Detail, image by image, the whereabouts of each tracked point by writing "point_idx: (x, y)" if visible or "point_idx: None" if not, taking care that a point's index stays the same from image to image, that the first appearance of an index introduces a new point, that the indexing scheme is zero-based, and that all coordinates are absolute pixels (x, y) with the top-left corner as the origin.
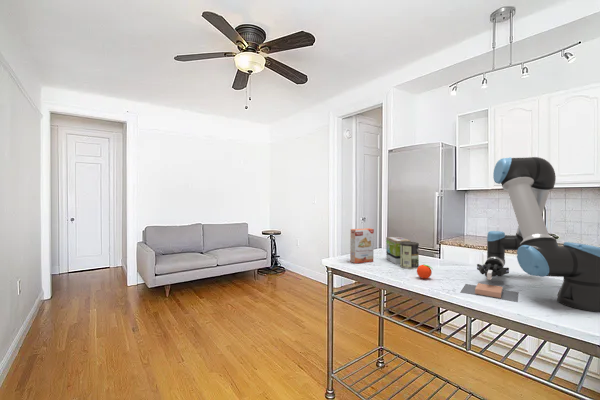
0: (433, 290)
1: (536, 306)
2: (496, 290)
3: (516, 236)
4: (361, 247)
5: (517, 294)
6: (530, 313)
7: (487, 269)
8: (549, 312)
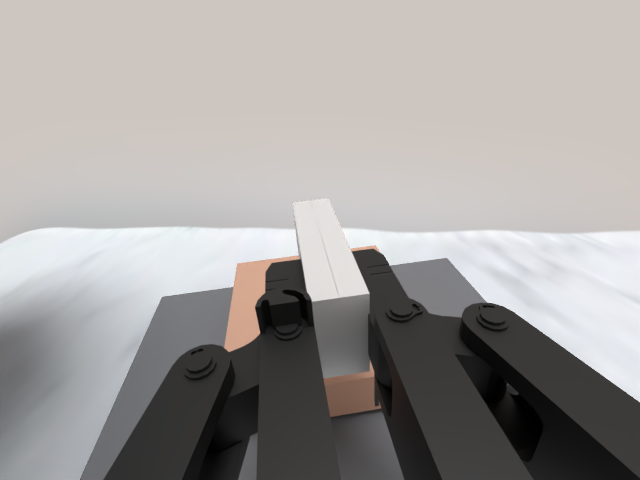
0: (552, 233)
1: (73, 319)
2: (263, 284)
3: None
4: None
5: (95, 463)
6: (148, 246)
7: (393, 302)
8: (54, 287)
